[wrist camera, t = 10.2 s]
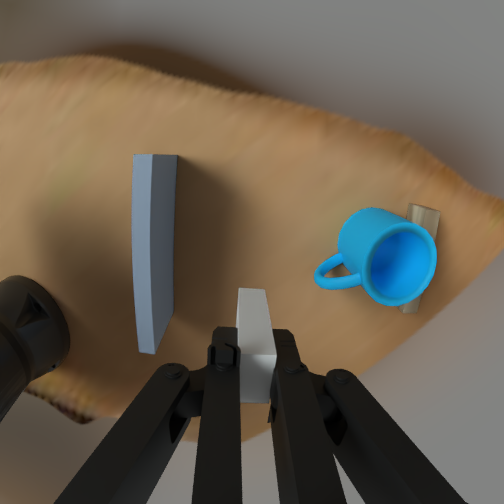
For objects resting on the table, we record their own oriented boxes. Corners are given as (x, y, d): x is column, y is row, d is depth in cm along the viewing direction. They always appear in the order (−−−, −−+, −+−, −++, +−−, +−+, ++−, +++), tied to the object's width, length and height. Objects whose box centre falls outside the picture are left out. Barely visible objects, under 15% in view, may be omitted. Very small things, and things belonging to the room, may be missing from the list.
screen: (145, 308, 36) (120, 348, 28) (145, 154, 31) (111, 154, 22) (173, 311, 36) (154, 354, 28) (177, 155, 31) (152, 154, 23)
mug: (392, 197, 33) (428, 209, 25) (407, 260, 35) (441, 286, 27) (295, 234, 34) (309, 257, 26) (318, 298, 36) (335, 334, 28)
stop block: (389, 298, 36) (402, 313, 32) (409, 203, 33) (426, 209, 29) (402, 299, 36) (416, 313, 32) (422, 205, 33) (440, 211, 29)
